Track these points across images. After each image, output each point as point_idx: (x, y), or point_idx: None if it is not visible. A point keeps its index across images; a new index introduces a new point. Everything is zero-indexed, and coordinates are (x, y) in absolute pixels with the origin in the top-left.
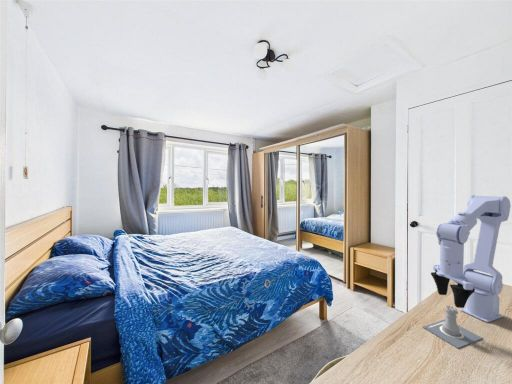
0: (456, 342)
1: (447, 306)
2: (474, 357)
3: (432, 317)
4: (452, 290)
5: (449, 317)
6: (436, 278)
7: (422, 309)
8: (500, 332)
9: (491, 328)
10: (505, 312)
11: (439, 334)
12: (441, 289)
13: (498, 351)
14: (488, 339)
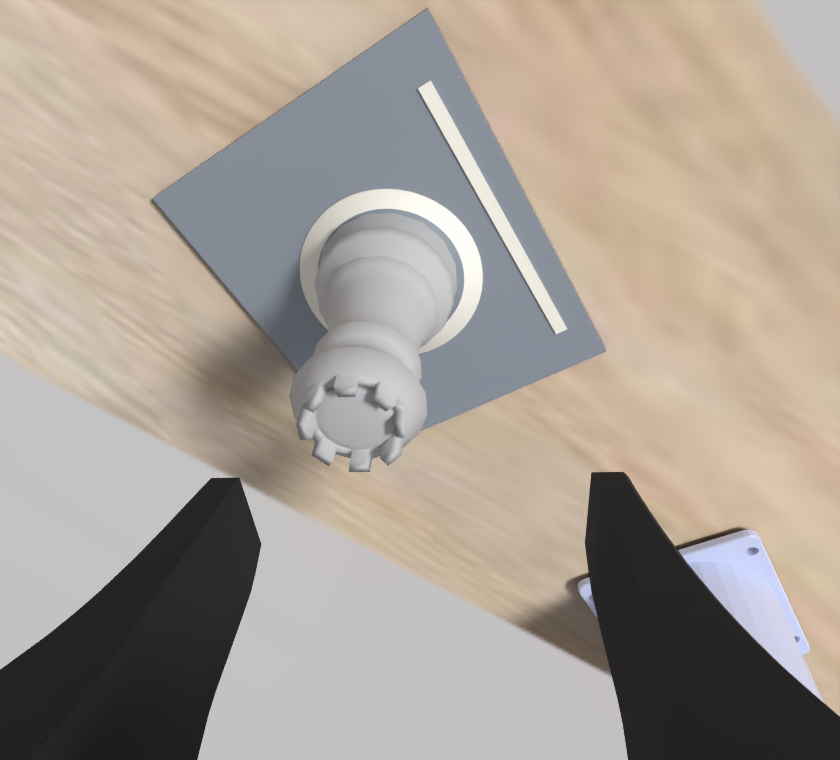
0: (233, 231)
1: (381, 408)
2: (94, 262)
3: (646, 239)
4: (71, 699)
5: (333, 330)
6: (691, 756)
7: (817, 214)
8: (472, 577)
9: (511, 562)
10: None
11: (314, 136)
12: (612, 569)
13: (245, 451)
14: (371, 475)
